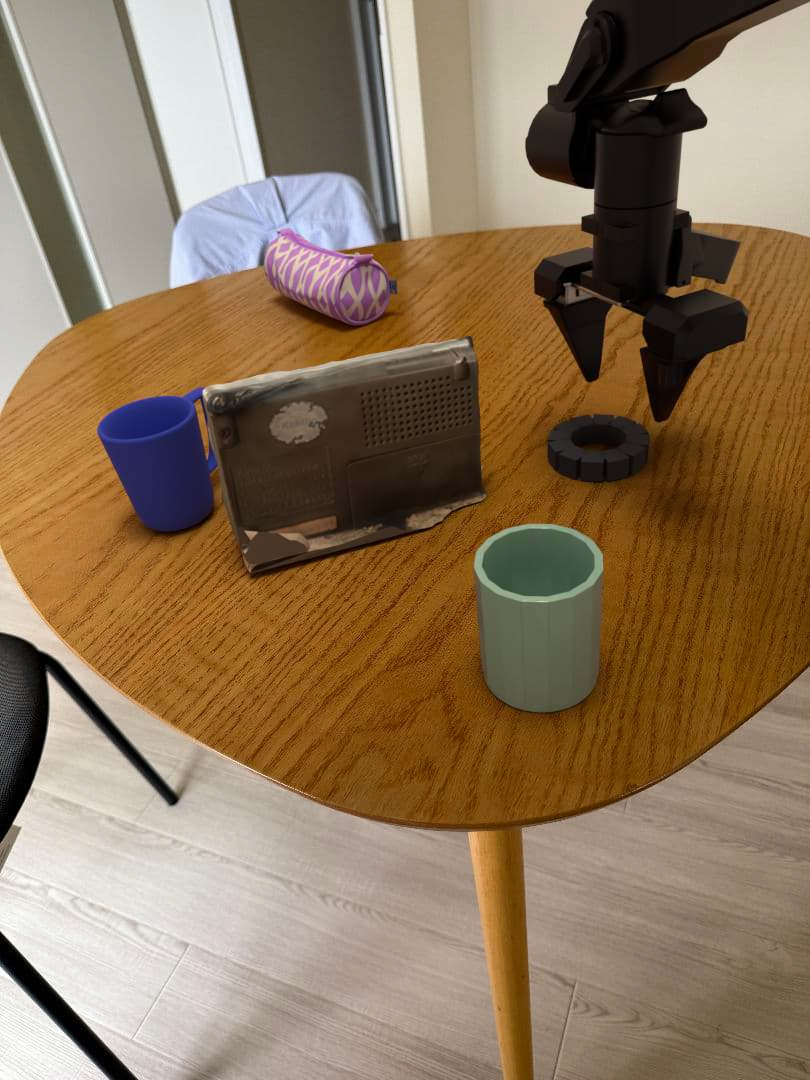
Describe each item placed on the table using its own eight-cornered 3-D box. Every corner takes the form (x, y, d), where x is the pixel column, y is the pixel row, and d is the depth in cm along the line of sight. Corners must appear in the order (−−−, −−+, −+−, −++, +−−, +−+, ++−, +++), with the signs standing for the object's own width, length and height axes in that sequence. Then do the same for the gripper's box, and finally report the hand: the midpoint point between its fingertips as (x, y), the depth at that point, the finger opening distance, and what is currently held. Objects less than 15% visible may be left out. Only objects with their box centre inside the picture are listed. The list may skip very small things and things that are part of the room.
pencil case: (403, 315, 106) (394, 244, 101) (348, 337, 102) (335, 264, 96) (314, 285, 121) (302, 222, 116) (263, 304, 117) (248, 239, 111)
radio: (483, 465, 72) (473, 307, 63) (517, 513, 65) (511, 344, 56) (233, 524, 69) (186, 367, 60) (241, 582, 62) (190, 413, 53)
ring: (622, 425, 75) (623, 406, 74) (665, 469, 68) (667, 449, 67) (535, 443, 74) (534, 425, 73) (569, 490, 67) (569, 470, 66)
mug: (264, 476, 75) (240, 380, 69) (187, 548, 67) (152, 446, 61) (197, 465, 78) (168, 373, 73) (115, 533, 70) (75, 434, 64)
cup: (572, 620, 54) (573, 513, 49) (617, 696, 48) (625, 584, 43) (469, 644, 53) (459, 538, 48) (502, 725, 47) (496, 614, 42)
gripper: (830, 196, 50) (789, 414, 59) (644, 161, 65) (634, 340, 74) (690, 234, 47) (669, 457, 56) (528, 188, 62) (532, 372, 71)
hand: (624, 399), depth 64 cm, fingers open, 9 cm apart
